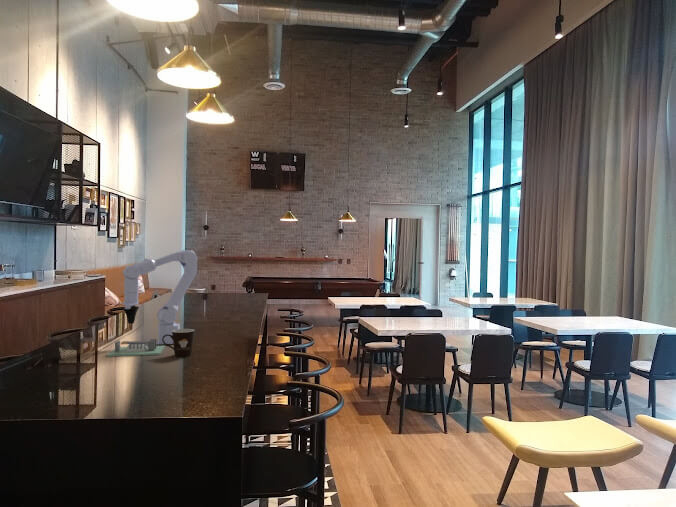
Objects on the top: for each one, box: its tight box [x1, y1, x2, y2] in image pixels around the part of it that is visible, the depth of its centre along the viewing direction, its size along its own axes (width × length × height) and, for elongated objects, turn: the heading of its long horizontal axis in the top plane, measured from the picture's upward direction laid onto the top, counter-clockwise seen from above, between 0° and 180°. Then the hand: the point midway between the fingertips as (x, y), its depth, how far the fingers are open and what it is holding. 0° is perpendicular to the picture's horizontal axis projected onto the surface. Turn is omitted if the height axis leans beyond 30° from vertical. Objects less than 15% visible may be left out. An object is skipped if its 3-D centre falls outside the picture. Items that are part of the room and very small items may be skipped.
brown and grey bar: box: [120, 340, 155, 345], centre depth 199 cm, size 13×4×2 cm, turn 102°
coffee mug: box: [162, 328, 195, 358], centre depth 193 cm, size 12×9×10 cm
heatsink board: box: [106, 338, 166, 358], centre depth 199 cm, size 20×15×5 cm
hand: (131, 323), depth 209 cm, fingers closed
